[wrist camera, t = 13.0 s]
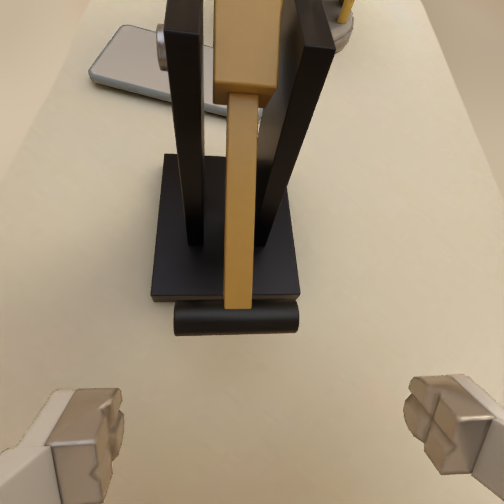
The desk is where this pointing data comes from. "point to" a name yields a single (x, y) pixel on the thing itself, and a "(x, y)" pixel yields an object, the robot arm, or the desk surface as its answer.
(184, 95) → the switch bracket
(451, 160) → the desk surface
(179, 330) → the lever
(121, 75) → the smartphone
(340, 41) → the lantern
